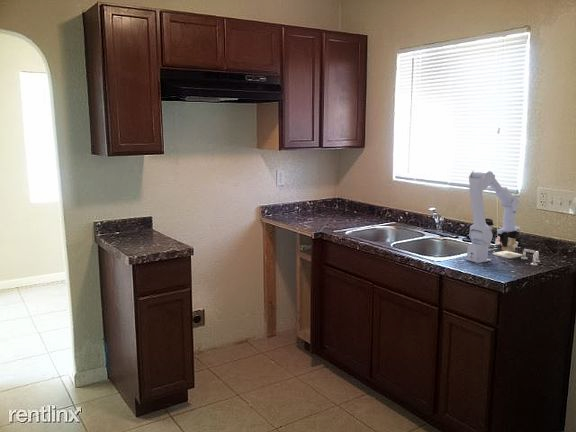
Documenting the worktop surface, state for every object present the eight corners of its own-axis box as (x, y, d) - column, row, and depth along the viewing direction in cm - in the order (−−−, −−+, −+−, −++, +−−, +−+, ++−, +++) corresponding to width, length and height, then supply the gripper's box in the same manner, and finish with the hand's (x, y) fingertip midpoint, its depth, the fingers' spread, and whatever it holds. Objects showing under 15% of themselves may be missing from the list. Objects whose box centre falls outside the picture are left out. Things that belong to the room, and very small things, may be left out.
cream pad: (508, 258, 253) (509, 256, 253) (492, 254, 262) (492, 252, 262) (522, 256, 258) (522, 254, 258) (505, 252, 267) (505, 250, 267)
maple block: (508, 251, 256) (509, 239, 255) (501, 249, 260) (502, 238, 259) (515, 250, 258) (515, 238, 257) (507, 248, 262) (508, 237, 261)
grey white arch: (534, 265, 239) (535, 255, 238) (511, 259, 250) (511, 249, 250) (547, 263, 243) (547, 252, 242) (523, 257, 255) (524, 247, 254)
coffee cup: (494, 245, 281) (495, 219, 279) (490, 248, 274) (491, 221, 272) (478, 244, 286) (479, 217, 284) (474, 247, 279) (475, 220, 277)
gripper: (506, 222, 250) (504, 249, 252) (525, 219, 257) (524, 245, 259) (494, 220, 256) (493, 246, 259) (514, 217, 263) (512, 243, 265)
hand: (507, 246), depth 259 cm, fingers closed on maple block, 4 cm apart
